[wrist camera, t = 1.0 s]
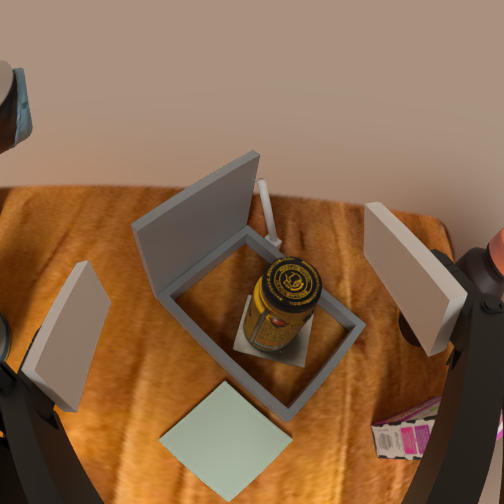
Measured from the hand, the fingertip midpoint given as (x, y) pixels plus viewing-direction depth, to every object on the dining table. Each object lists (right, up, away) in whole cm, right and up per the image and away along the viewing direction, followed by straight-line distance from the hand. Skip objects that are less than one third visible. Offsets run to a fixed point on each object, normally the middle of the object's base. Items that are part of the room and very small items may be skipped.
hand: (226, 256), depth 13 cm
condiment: (+4, -9, +22) cm, 24 cm away
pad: (-2, -20, +13) cm, 24 cm away
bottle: (+25, -10, +24) cm, 36 cm away
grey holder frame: (+2, -8, +22) cm, 23 cm away
